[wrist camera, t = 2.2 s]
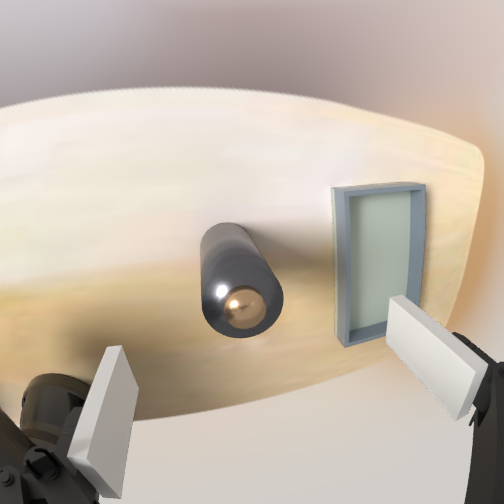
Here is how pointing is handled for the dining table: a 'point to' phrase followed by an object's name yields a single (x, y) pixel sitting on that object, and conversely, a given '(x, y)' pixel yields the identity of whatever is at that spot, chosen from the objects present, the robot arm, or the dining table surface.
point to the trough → (375, 254)
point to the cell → (237, 283)
